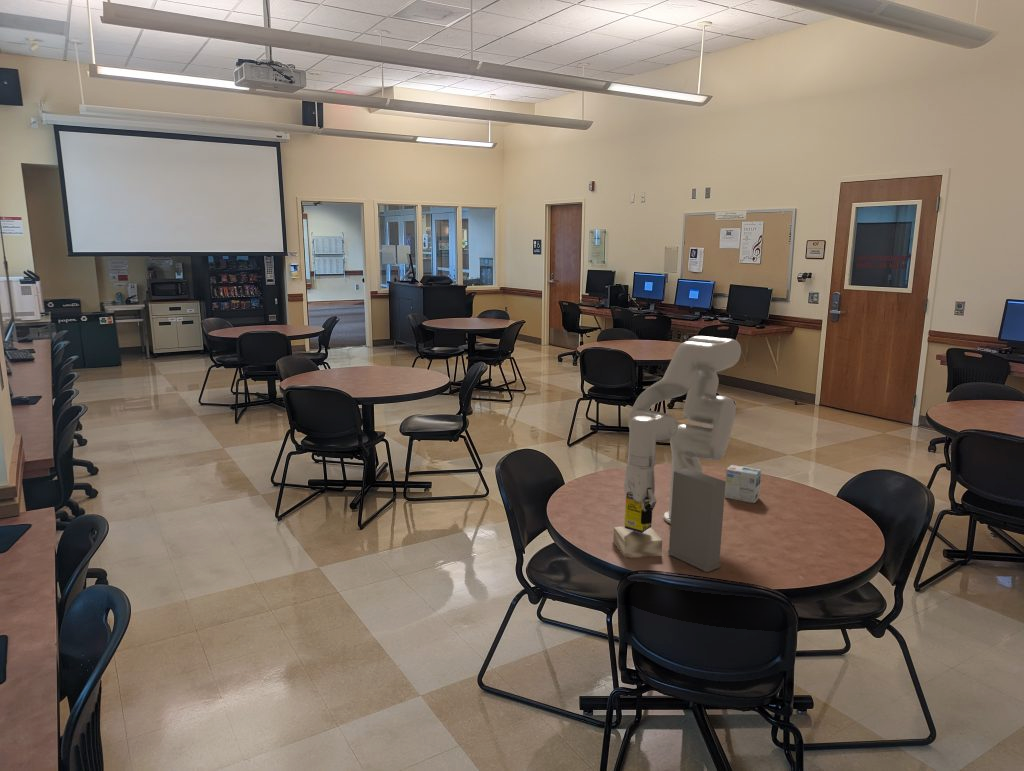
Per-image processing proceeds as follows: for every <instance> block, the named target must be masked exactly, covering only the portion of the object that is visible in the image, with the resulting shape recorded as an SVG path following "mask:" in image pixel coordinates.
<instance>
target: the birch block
mask: <svg viewBox="0 0 1024 771" xmlns="http://www.w3.org/2000/svg"><path fill="white" fill-rule="evenodd" d="M612 537H613V540H612V541H613V544H614V545H615V546H617V547H616V548H617V549H618V551H619V550H620V551H619V552H620V554H621V553H622V554H621V556H624V557H630V558H642V557H641V556H650V557H662V554H663V539H662V538H661V537H660V536H659V534H658V533H657V532H656V531H655V530H654V529H653V528H652V526H651V527H650V528H649V529H647V530H646V531H644V532H643V533H640V532H637V531H633V530H630V529H626V528H625V525H624V526H613V536H612ZM624 557H623V558H624Z"/></svg>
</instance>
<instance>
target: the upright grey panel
mask: <svg viewBox="0 0 1024 771" xmlns="http://www.w3.org/2000/svg"><path fill="white" fill-rule="evenodd" d="M725 483H726V480H722V479H720V478H718V477H714V476H711V475H709V474H704V473H703V472H702V473H699V472H696V471H693V470H690V469H687V468H685V469H681V470H677V471H674V477H673V493H672V510H671V524H670V526H669V528H670V530H669V542H668V543H669V544H668V546H669V548H668V552H667V553H668V554H667V555H669V556H672V557H674V558H676V559H678V560H681V561H682V562H684V563H685V564H686V563H687V564H688V565H691V566H692V567H695V568H698V569H699V570H701V571H703V572H705V573H708V572H711V571H714V570H716V569H719V568H722V562H721V561H720V558H721V547H722V546H721V544H722V536H723V534H722V533H723V521H724V520H723V519H724V518H723V517H724V509H725V497H724V496H725Z"/></svg>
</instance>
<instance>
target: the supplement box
mask: <svg viewBox="0 0 1024 771" xmlns="http://www.w3.org/2000/svg"><path fill="white" fill-rule="evenodd" d="M625 494H626V495H625V513H624V514H625V515H624V526H625V528H626V529H630V530H633V531H637V532H640V533H643V532H644V531H646V530H647V529H649V528H650V527H651V528H652V522H653V521H652V522H651V523H649V524H641V510H643V508H642V504H641V502H637V501H636V500H634V499H633V494H632V493H630V492H627V493H625ZM646 499H648V497H647V496H646V497H645V499H644V500H646ZM647 504H649V503H648V502H645V505H646V506H647Z"/></svg>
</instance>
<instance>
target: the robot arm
mask: <svg viewBox="0 0 1024 771" xmlns="http://www.w3.org/2000/svg"><path fill="white" fill-rule="evenodd" d="M741 354H742V348H741V344H740V343H739V341H737V340H736V339H734V338H729V337H728V338H727V337H715V336H706V335H695V336H692V337H690V338H688V340H687V341H684V342H681V343H680V344H679V345H678V346H677V347H676V349H675V352H674V354H673V356H672V358H671V360H670V362H669V363H668V364H669V365H668V366H667V369H666V370H665V373H664V375H663V377H662V378H661V379H660V380H659V381H658V380H657V381H656V382H655V383H653V384H651V385H650V386H649V387H647V388H645V390H644V391H642V392H641V393H640V394H639V395H638V397H636V398H637V399H636V400H635V402H634V404H633V406H632V407H631V410H630V412H629V414H628V417H627V419H628V420H627V426H628V428H629V429H628V430H629V433H628V434H629V436H628V456H627V464H626V467H625V468H626V469H625V474H624V475H625V476H624V485H623V486H624V487H623V491H624V493H625V494H626V493H627V492H630V493H632V494H633V499H634V500H636V501H637V502H641V504H642V508H643V510H641V524H649V523H651V522H653V521H652V520H653V511H654V509H655V507H656V504H657V501H658V500H657V498H656V496H655V490H656V489H655V488H656V486H655V485H656V484H655V481H656V478H655V475H656V474H655V466H656V464H655V463H656V449H657V448H656V447H657V442H658V441H664V440H665V441H666V440H669V443H670V448H671V451H670V452H671V473H670V489H669V505H668V506H669V508H668V511H666V512H664V513H663V519H664V521H665V522H667V523H669V524H670V525H671V510H672V493H673V477H674V471H677V470H681V469H685V468H687V469H690V470H693V471H696V472H699V473H702V474H703V467H702V463H701V460H700V458H701V459H705V460H710V461H719V460H721V459H723V457H724V456H725V454H726V452H727V449H728V445H729V441H730V437H731V435H732V430H733V428H734V427H733V426H734V422H735V419H736V413H737V412H736V411H737V410H736V404H735V402H734V400H733V399H732V398H730V397H728V396H725V395H718V394H717V391H718V387H719V377H718V373H719V372H722V371H725V370H726V369H729V368H732V367H734V366H735V365H736V364H737V363H738V362H739V360H740V358H741ZM717 372H718V373H717ZM684 395H686V396H685V397H686V398H685V402H684V404H683V405H684V406H683V410H682V411H683V416H684V418H685V419H687V420H689V421H692V422H693V423H694V422H695V423H700V424H705V425H710V426H712V428H711V427H710V428H709V427H703V426H699V425H694V424H690V423H680V424H678V420H677V418H676V417H675V416H673V415H671V414H669V413H666V412H660V411H655V410H652V409H651V408H653V406H655V405H656V404H658V403H660V402H663V401H666V400H671V399H674V398H678V397H681V396H684ZM650 409H651V410H650ZM646 496H647V497H648V499H646V500H644V499H645V497H646ZM645 502H648V503H649V504H647V506H646V505H645Z"/></svg>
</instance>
